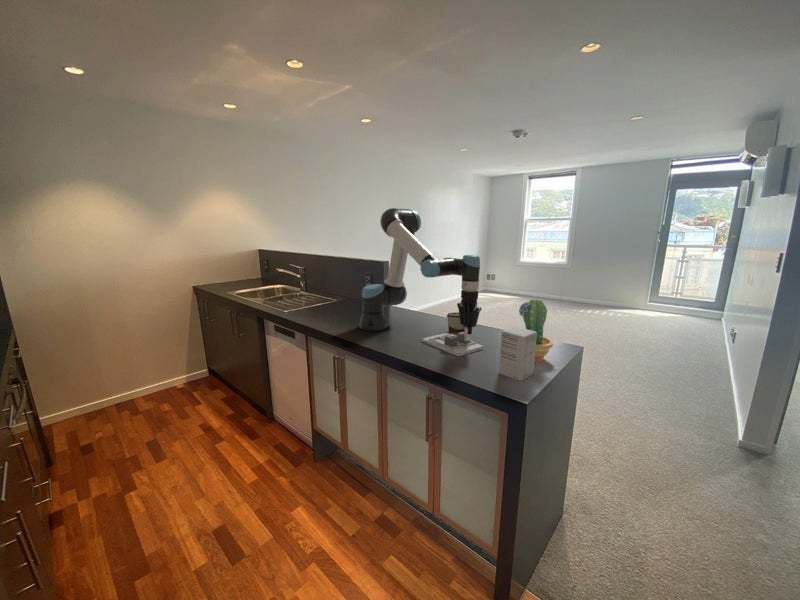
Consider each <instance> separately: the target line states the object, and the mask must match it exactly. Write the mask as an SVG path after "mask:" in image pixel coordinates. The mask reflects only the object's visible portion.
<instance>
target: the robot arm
mask: <svg viewBox="0 0 800 600" xmlns="http://www.w3.org/2000/svg"><path fill="white" fill-rule="evenodd" d="M421 221H422V220H421V217H420V215H419V213H418V212H417V210H414V209H410V208H396V207H395V208H394V207H393V208H388V209H386V210H384V212H383V213H382V214H381V216H380V227H381V229H382V230H383V232H384V233H385V234H386V236H388V237H389V238H392V239H393V243H392V250H391V255H390V262H389V267H388V273H387V278H386V279H384V281H383V284H382V283H381V284H380V283H374V284H367V285H365V286H364V287H362V289H361V299H362V304H361V308H362V309H361V310H362V314H361V317H360V321H359V330H362V331H367V332H378V331H379V332H380V331H383V330H386V329H387V328H388V323H387V319H386V317H385V312H384V309H385V308H386V307H392V306H398V305H401V304H403V303H404V302H405V301H406V299H407V297H408V291H407V287H406V286H405V282H404V281H403V279H404V274H405V270H406V265H407V260H408V255H409V256H410V257H411V258H412V259H413V260H414V261H415V262H416V263H417V264H418V265H419V266H420V272H421V274H422V276H423V277H425V278H437V277H438V278H439V277H443V276H460V277H461V293H460V298H461V300H460V302H457V303H456V306H457V308H458V313H459V317H460V324H462V325H463V326H464V331H463V332H464V341H470V340H471V338H472V337H471V335H472V333H473V328H475V327H476V326H477V323H478V319H479V317H480V313H481V311H482V310H483V309H482V307H481V306H479V305H478V298H479V289H480V287H479V285H480V269H481V268H480V267H481V257H480V256H479V255H477V254H476V255H475V254H465V255H463V256H462V258H453V257H444V258H437V257H436V256H435V255H434V253H432V252H431V251H430V250H429V249H428V248H426V246H425V245H423V243H421V241H419V240H418V239H417V237H415V233H417V232H418V231H419V230H420V229H421V226H422V225H421V224H422V222H421Z"/></svg>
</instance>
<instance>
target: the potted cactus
mask: <svg viewBox="0 0 800 600" xmlns="http://www.w3.org/2000/svg"><path fill="white" fill-rule="evenodd" d="M518 312H519V315H520V316H521V317H522V319H523V323H524V325H525V329H527V330H531V331H535V332H537V337H536V348H535V359H534V363H537V362H543V361H544V359H545V358H544V357H545V356H546V355H548V354H549V351H550V349H551V348H553V346H554V340H553V339H551V338H549V337H547V336H544V325H545V322H546V321H547V320H546V319H547V314H548V310H547V307H546V305H545V303H544V302H543V301H542V299H540V300H539V299H538V298H537V299H533V298H532V299H530V300H529V301H526V302H523V303H522V304H521V305H520V306H519V310H518Z"/></svg>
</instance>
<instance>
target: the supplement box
mask: <svg viewBox="0 0 800 600" xmlns="http://www.w3.org/2000/svg"><path fill="white" fill-rule="evenodd" d="M536 337H537V332H535V331H531V330H527V329H526V328H523V327H519V326H513V327H510V328H507V329H504V330H502V331H501V337H500V338H501V339H500V349H499V350H500V352H499V364H498V365H499V367H498V368H499V369H498V374H500V375H502V376H506V377H508V378H511V379H513V380H517V381H519V382H521V381H524V380H525V379H527V378H529V377H531V376H532V375H534V369H535V368H534V367H535V362H534V359H535V348H536Z"/></svg>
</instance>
